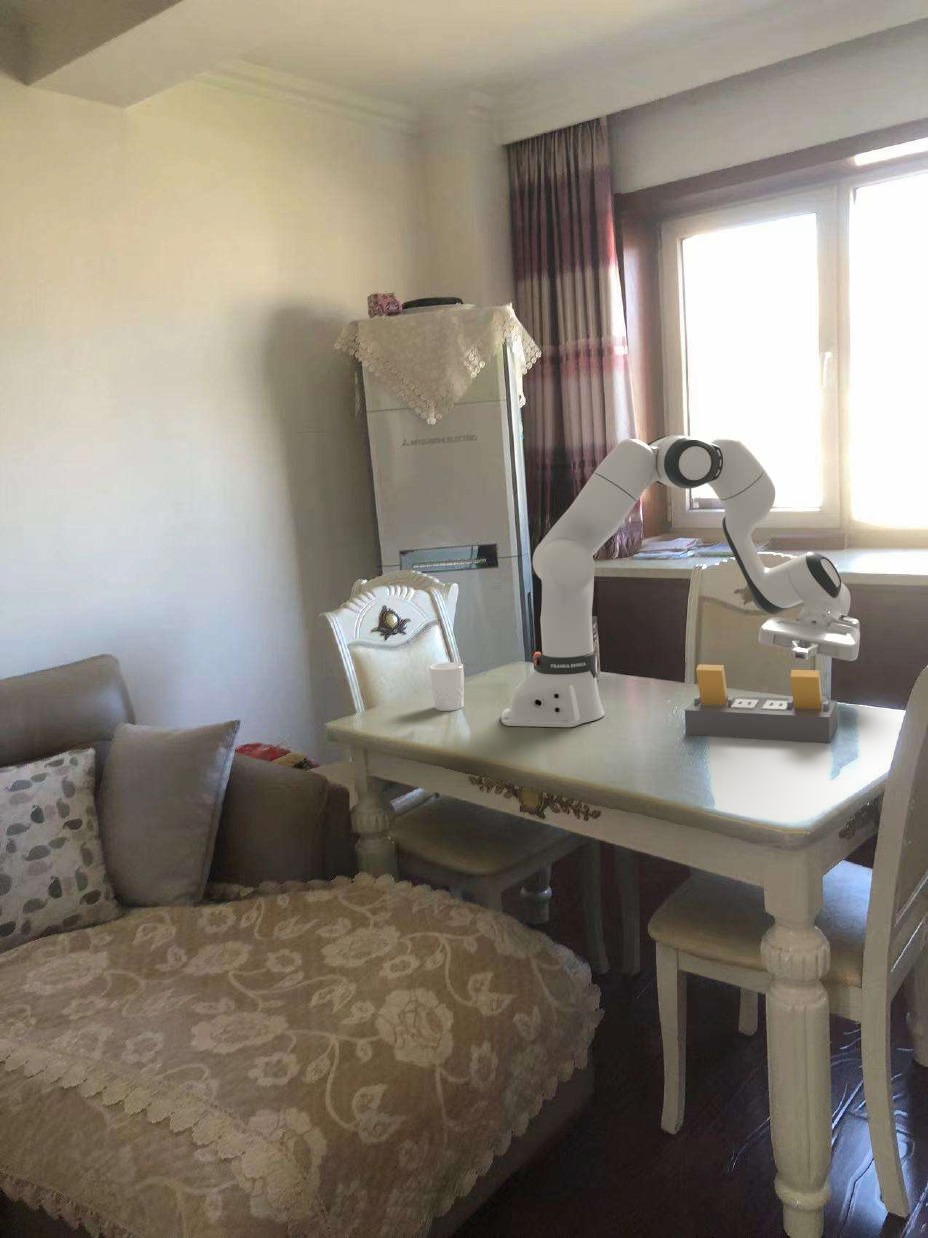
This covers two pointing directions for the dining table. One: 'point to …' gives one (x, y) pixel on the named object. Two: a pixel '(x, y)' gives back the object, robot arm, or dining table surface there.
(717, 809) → the dining table surface
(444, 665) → the white cup
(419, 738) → the dining table surface
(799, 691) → the switch
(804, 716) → the power box
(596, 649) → the coffee box
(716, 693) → the switch
